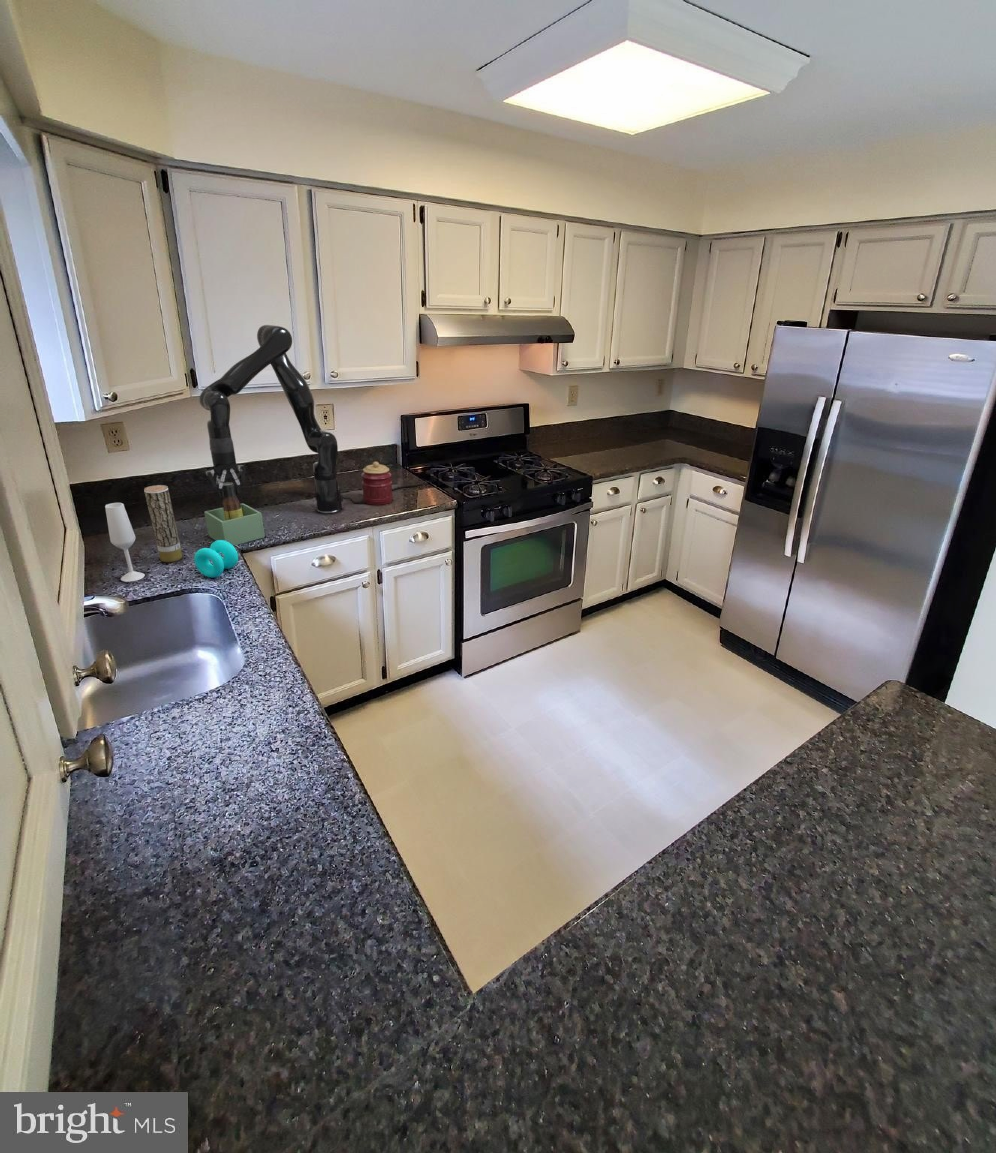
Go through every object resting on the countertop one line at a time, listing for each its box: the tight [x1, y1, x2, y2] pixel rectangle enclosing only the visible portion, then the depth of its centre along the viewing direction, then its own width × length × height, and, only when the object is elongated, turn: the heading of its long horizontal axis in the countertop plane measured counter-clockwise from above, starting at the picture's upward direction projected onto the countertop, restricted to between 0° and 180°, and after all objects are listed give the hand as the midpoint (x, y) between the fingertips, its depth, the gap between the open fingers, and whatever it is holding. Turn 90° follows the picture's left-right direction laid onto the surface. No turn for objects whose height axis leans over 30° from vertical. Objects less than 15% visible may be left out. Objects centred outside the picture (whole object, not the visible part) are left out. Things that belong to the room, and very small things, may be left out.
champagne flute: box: [104, 502, 146, 583], centre depth 184 cm, size 7×7×24 cm
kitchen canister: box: [360, 461, 394, 506], centre depth 261 cm, size 13×13×18 cm
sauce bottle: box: [221, 481, 243, 521], centre depth 218 cm, size 6×6×20 cm
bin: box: [204, 503, 266, 547], centre depth 220 cm, size 15×15×10 cm
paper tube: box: [143, 484, 183, 563], centre depth 197 cm, size 7×7×25 cm
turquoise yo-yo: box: [193, 540, 239, 578], centre depth 193 cm, size 10×10×10 cm
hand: (230, 495), depth 215 cm, fingers open, 5 cm apart
